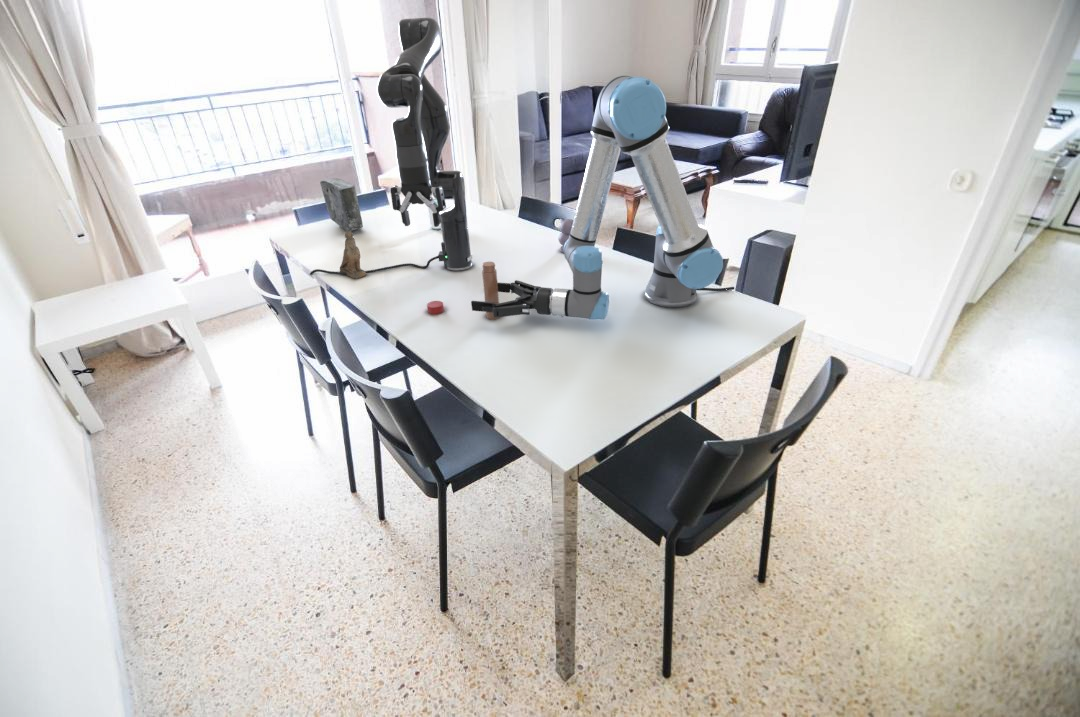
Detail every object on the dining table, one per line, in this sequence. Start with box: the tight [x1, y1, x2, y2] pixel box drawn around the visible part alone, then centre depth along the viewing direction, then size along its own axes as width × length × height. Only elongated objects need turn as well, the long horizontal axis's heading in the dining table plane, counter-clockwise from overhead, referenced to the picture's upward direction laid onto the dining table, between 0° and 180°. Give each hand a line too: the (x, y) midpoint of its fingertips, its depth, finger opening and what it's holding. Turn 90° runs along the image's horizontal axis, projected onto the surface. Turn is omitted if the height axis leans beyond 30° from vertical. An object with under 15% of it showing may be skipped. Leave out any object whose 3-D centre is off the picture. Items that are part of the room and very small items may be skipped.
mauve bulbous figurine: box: [558, 218, 574, 254], centre depth 188 cm, size 8×8×12 cm
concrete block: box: [319, 177, 364, 232], centre depth 222 cm, size 27×9×20 cm, turn 36°
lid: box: [426, 300, 445, 315], centre depth 149 cm, size 5×5×2 cm
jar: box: [481, 261, 500, 320], centre depth 141 cm, size 4×4×16 cm
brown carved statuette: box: [339, 230, 367, 280], centre depth 174 cm, size 12×6×18 cm, turn 43°
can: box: [427, 198, 442, 230], centre depth 220 cm, size 7×7×12 cm
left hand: (422, 225), depth 136 cm, fingers open, 8 cm apart
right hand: (480, 295), depth 143 cm, fingers open, 13 cm apart
